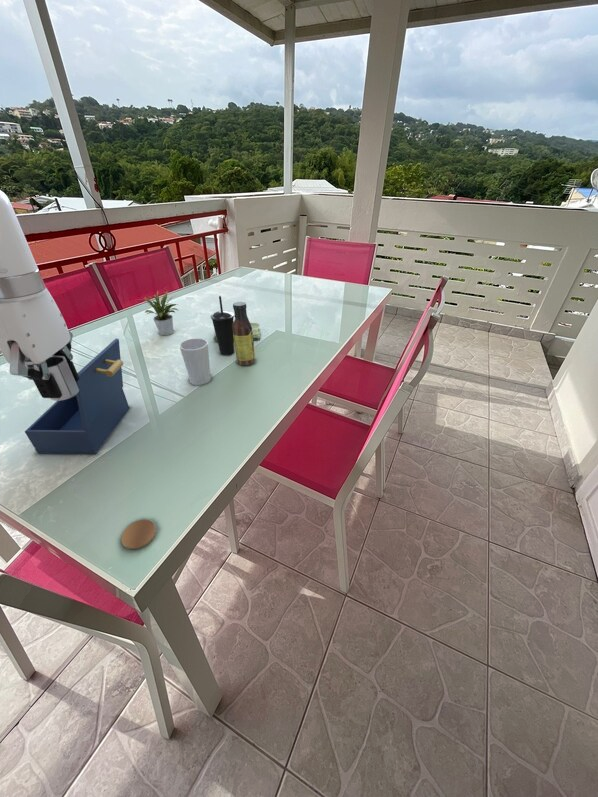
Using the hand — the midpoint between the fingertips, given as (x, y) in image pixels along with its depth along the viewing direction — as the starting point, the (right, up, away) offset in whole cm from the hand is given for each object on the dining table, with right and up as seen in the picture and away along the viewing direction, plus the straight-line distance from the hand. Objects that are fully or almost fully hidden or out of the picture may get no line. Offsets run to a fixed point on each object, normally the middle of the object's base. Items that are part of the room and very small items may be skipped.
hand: (61, 387), depth 59 cm
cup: (+12, +4, +43) cm, 45 cm away
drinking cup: (+17, +14, +58) cm, 62 cm away
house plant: (-11, +23, +71) cm, 75 cm away
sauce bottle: (+25, +10, +53) cm, 59 cm away
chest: (-10, -10, +23) cm, 27 cm away
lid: (-2, +2, +15) cm, 15 cm away
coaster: (+14, -26, -1) cm, 30 cm away
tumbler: (0, -1, +1) cm, 1 cm away
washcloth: (+19, +23, +70) cm, 76 cm away
